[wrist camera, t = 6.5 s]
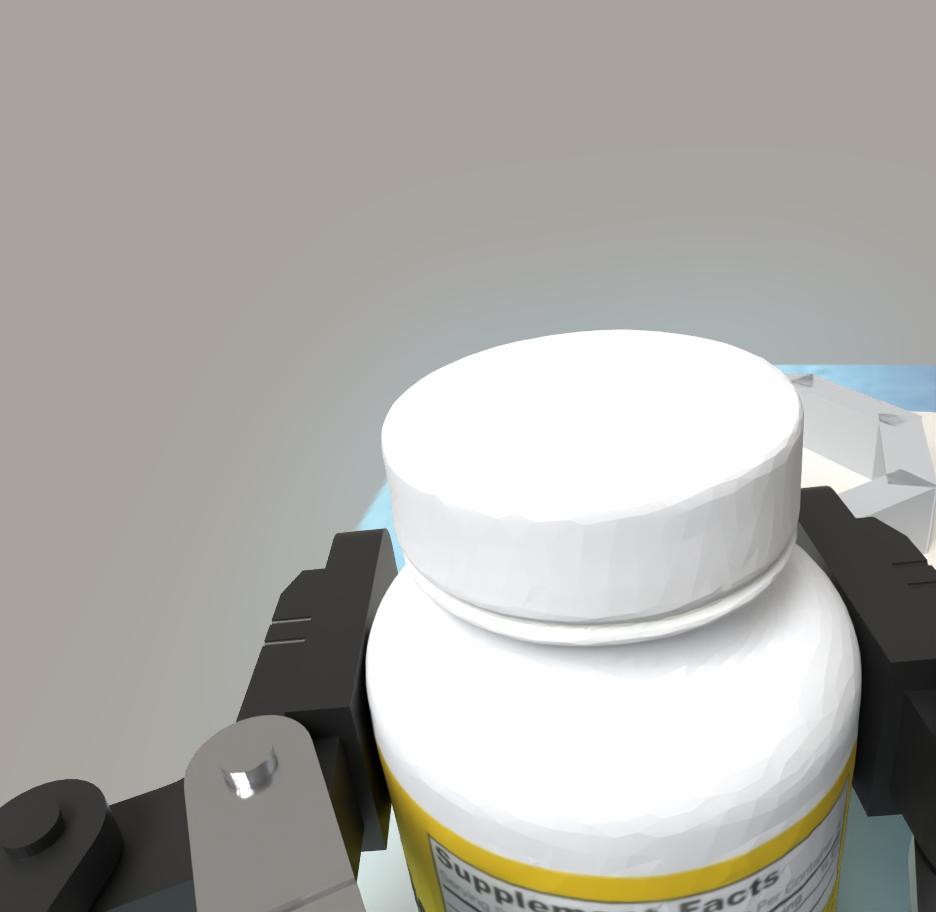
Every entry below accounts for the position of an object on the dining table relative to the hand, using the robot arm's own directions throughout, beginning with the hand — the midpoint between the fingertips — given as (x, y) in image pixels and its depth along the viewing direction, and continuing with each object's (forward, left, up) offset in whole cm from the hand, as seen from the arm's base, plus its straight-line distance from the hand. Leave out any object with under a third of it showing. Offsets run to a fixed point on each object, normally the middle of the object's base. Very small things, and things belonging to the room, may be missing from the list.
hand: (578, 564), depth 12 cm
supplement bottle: (-1, +2, -6) cm, 7 cm away
